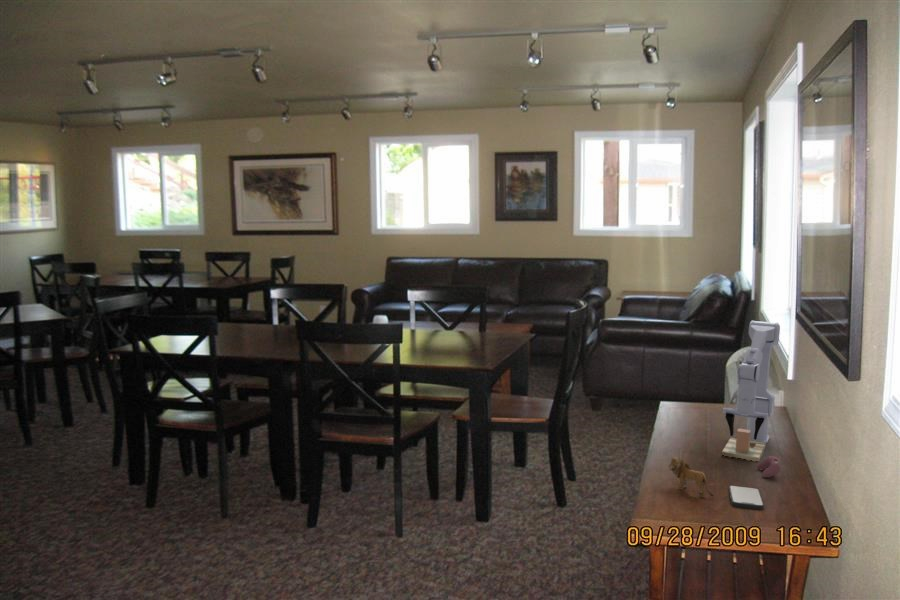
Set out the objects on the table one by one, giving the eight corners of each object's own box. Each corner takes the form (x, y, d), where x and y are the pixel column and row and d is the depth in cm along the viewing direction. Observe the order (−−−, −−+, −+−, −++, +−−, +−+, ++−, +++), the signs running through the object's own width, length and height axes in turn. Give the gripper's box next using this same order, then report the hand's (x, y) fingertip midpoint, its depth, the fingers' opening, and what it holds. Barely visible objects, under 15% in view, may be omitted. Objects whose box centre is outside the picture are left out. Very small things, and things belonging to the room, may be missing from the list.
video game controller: (773, 484, 257) (786, 465, 256) (760, 476, 258) (772, 458, 257) (767, 474, 267) (779, 456, 266) (755, 466, 268) (766, 449, 266)
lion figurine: (664, 486, 247) (666, 457, 246) (673, 482, 251) (675, 454, 250) (709, 500, 237) (711, 470, 236) (718, 495, 241) (720, 466, 240)
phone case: (728, 490, 248) (731, 507, 232) (728, 485, 248) (731, 502, 232) (759, 493, 245) (764, 511, 230) (759, 488, 245) (765, 506, 230)
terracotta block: (737, 448, 284) (738, 428, 283) (749, 449, 282) (750, 430, 282) (735, 450, 281) (737, 431, 280) (747, 452, 279) (749, 432, 278)
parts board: (730, 441, 298) (730, 437, 297) (765, 447, 292) (765, 442, 292) (721, 455, 280) (721, 451, 280) (758, 461, 274) (759, 457, 274)
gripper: (722, 397, 279) (719, 436, 281) (767, 403, 272) (764, 443, 274) (725, 393, 285) (722, 431, 287) (770, 399, 279) (766, 438, 280)
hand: (743, 437), depth 281 cm, fingers open, 7 cm apart
